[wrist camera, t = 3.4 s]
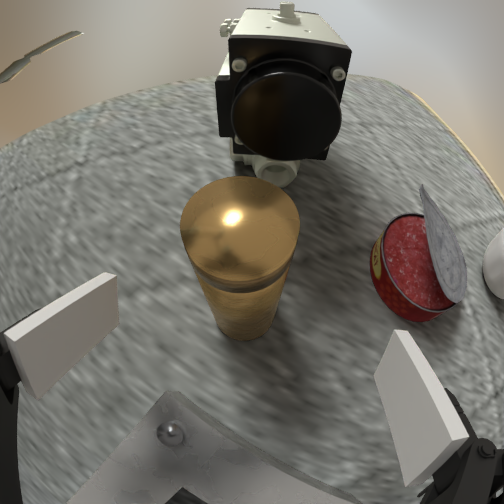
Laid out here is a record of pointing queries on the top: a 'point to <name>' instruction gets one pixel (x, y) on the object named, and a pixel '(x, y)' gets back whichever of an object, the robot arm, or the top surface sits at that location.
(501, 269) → the teacup
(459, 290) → the canned food
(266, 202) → the gold metal cylinder
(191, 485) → the jig
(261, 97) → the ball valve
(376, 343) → the top surface
